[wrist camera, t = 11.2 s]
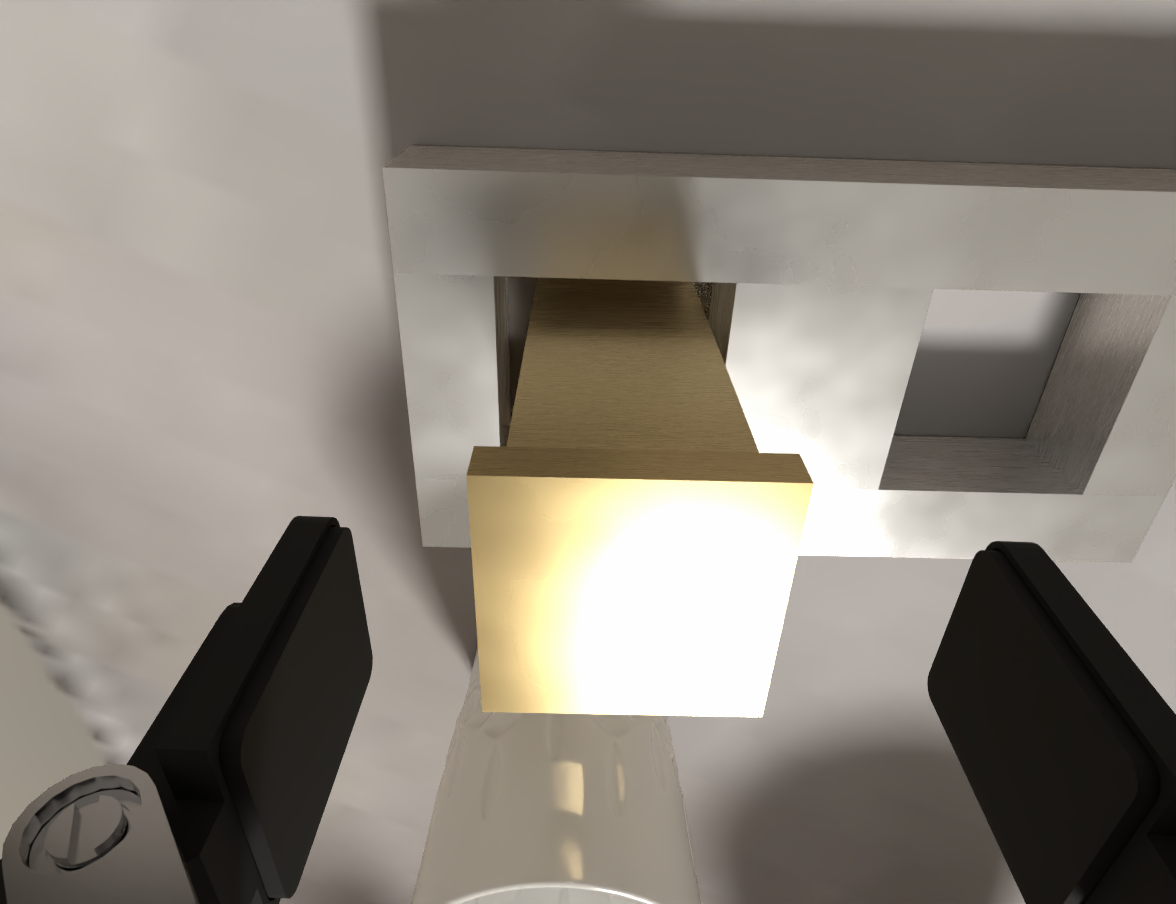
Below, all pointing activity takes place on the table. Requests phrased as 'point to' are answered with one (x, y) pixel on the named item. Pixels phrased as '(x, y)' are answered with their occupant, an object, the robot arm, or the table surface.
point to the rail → (817, 324)
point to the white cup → (557, 812)
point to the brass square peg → (629, 517)
